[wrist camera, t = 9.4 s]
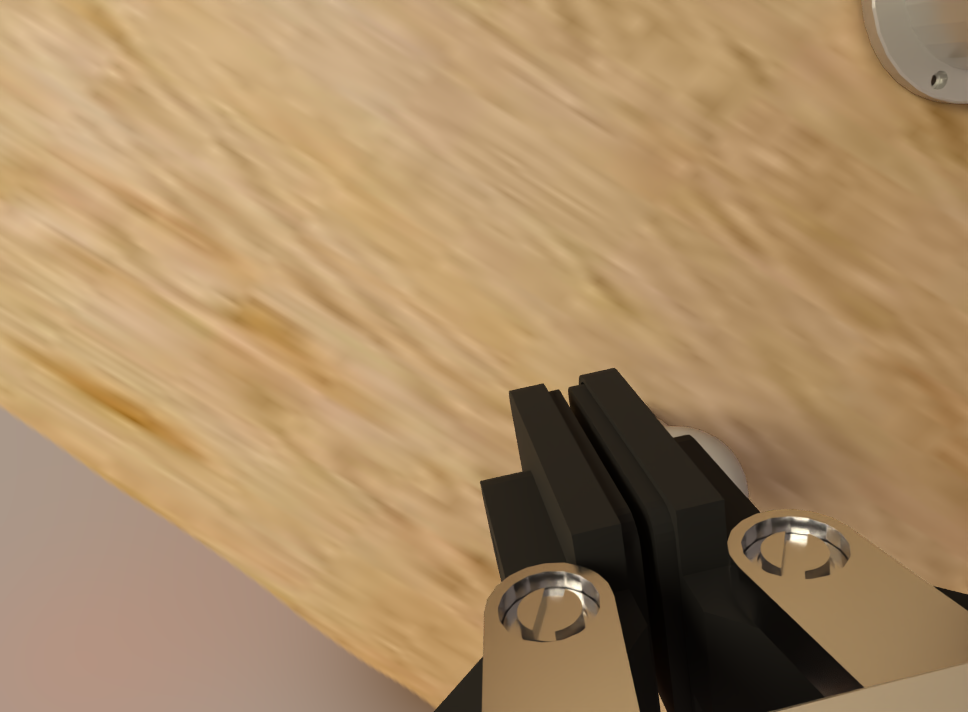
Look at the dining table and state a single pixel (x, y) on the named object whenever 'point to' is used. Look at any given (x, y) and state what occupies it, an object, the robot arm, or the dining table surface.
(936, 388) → the dining table surface
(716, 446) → the lightbulb
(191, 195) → the dining table surface
